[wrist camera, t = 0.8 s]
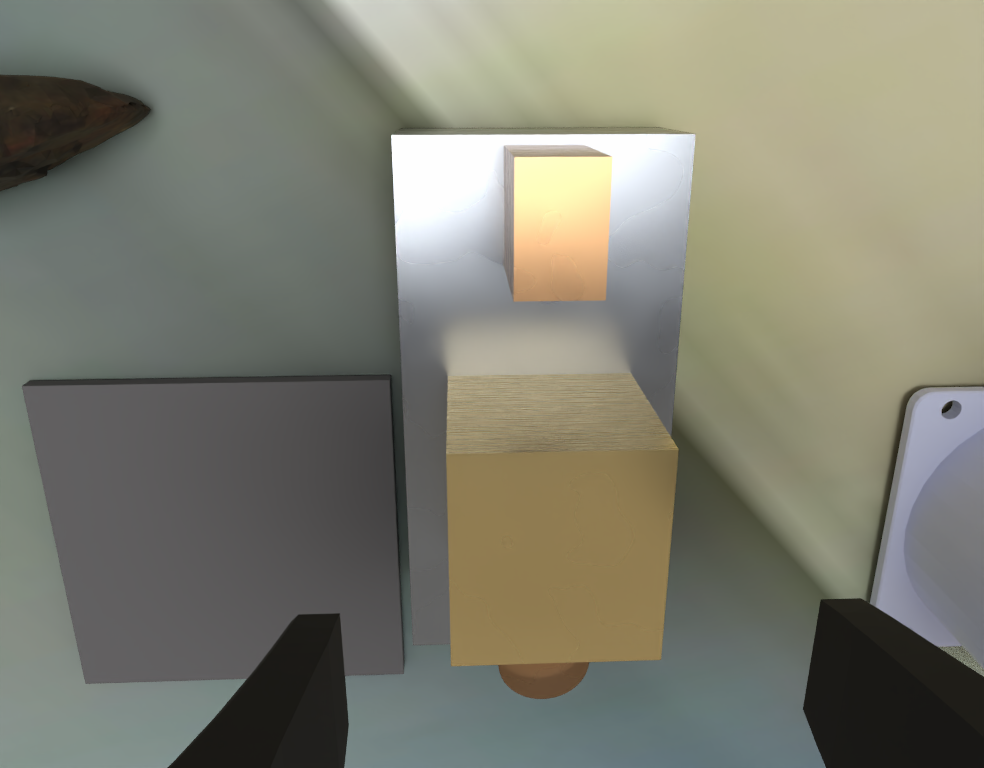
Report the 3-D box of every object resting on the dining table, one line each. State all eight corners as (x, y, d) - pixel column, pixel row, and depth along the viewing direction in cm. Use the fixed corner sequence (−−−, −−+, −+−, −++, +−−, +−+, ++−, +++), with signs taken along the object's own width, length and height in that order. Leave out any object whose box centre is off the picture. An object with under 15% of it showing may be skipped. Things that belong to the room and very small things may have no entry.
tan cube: (630, 373, 18) (678, 449, 14) (620, 548, 19) (660, 659, 15) (448, 376, 18) (446, 453, 14) (452, 552, 19) (450, 666, 15)
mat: (390, 374, 21) (389, 380, 20) (404, 664, 24) (403, 673, 23) (29, 380, 20) (22, 386, 20) (91, 674, 23) (85, 683, 23)
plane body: (659, 127, 19) (747, 143, 13) (629, 570, 23) (687, 727, 17) (401, 128, 19) (377, 144, 13) (418, 575, 23) (406, 736, 17)
